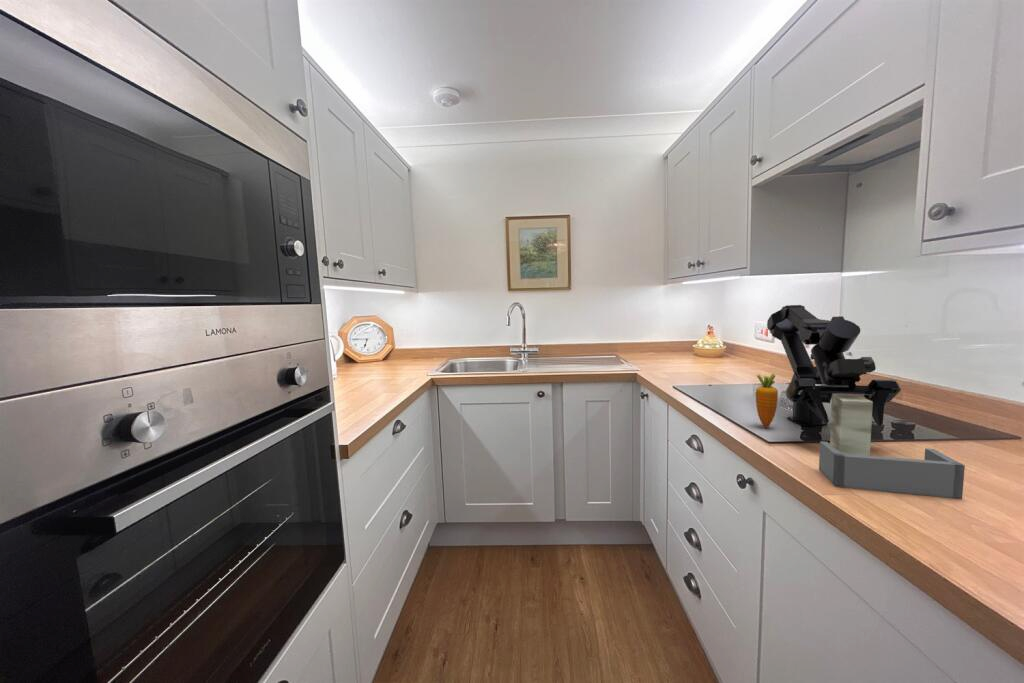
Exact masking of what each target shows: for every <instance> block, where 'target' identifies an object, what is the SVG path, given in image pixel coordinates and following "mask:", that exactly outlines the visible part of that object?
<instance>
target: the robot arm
mask: <svg viewBox="0 0 1024 683" xmlns="http://www.w3.org/2000/svg"><path fill="white" fill-rule="evenodd" d="M766 328H767V330H768V331H769V333H770V334H771V336H772V337H773V338H775V339H777V340H779V341H780V342H781V344H782V346H783V349H784V352H785V354H786V357H787V359H788V362H789V364H790V366H791V369H792V371H793V374H792V378H791V381H790V382H789V384H788V386H787V388H786V389H785V393H786V395H785V396H786V398H787V399H788V400H789V401H791V402H792V403H793V404H792V408H793V410H792V416H787V417H786V418H787V420H790V421H792V422H794V423H796V424H798V425H800V426H802V427H808V426H828V423H829V416H828V413H827V411H826V408H825V405H824V403H827V404H831V402H832V395H860V396H862V395H863V397H864V398H866V399H868V400H870V401H872V402H873V407H872V420H873V421H874V423H875V424H876V425H877V426H878V427H882V425H883V424H884V414H885V412H884V411H885V405H886V403H889V402H892V400H893V399H894V398H895V397H896V396H897V395H898V394H899V393H900V392H901V391H902V389H901V387H900V384H899V383H898V382H897V381H896V380H894V379H872V380H871V381H869V383H868V384H867V385H860V384H859V385H857V383H859V382H860V381H861V379H862V378H861V376H863V375H866V374H867V373H872V372H874V371H875V370H876V368H877V367H876V363H875V361H874V359H873V357H872V356H861V357H859V358H846V356H845V355H844V353H846V352H848V351H849V350H850V348H851V347H852V346H853V344H854V342H855V341H856V339H858V337H859V336H860V334H861V328H860V326H859V325H858V324H856V323H855V322H853V321H851V320H848V319H845V317H844V316H843V315H842V316H832V318H831V319H830V320H829V319H822V318H821V319H820V318H818V317H816V316H815V315H814V314H813V313H811V312H810V311H809V310H807V309H806V308H805V305H801V304H791V305H789V304H788V305H784V306H782V307H781V308H780V310H778V311H775V312H774V313H772V314H770V316H769V317H768V319H767V321H766ZM807 345H809V346H810V345H814V346H812V347H811V349H810V353H811V354H810V355H809V353H808V351H807V349H806V346H807ZM812 360H813V362H814V364H815V366H814V364H813V362H812ZM867 375H868V374H867Z"/></svg>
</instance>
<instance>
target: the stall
mask: <svg viewBox="0 0 1024 683" xmlns="http://www.w3.org/2000/svg"><path fill="white" fill-rule="evenodd" d="M818 458H819V459H818V460H819V462H818V470H819V472H821V473H822V474H823V475H824V476H825V477H826V479H827V480H829V481H830V483H832V484H833V485H834V487H837V488H838V487H839V488H848V489H858V490H859V489H860V490H867V491H880V492H888V493H898V494H908V495H916V496H917V495H918V496H928V497H939V498H948V499H960V500H962V499H963V492H964V480H965V469H966V465H965V464H963V463H961V462H959V461H958V460H955V459H954V458H951V457H950V456H948V455H946V454H945V453H942V452H940V451H939V450H937V449H935V448H925V449H924V459H916V458H903V457H902V458H901V457H892V456H891V457H889V456H875V455H870V456H864V455H851V454H842V453H840V452H839V451H838V450H837V449H835V448H834V447H833V446H832V445H830V442H828V441H819V456H818Z"/></svg>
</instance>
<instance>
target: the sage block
mask: <svg viewBox="0 0 1024 683" xmlns="http://www.w3.org/2000/svg"><path fill="white" fill-rule="evenodd" d="M830 405H831V407H830V408H831V409H830V430H829V431H830V432H829V433H830V434H829V435H830V436H829V444H830V445H832V446H833V447H834V448H835V449H837V450H838V451H839V452H840V453H842V454H851V455H864V456H871V444H872V442H871V441H872V439H871V438H872V437H871V436H872V426H873V425H872V423H873V422H872V420H873V417H872V407H873V402H872V401H870V400H868V399H866V398H865V397H864V396H862V395H857V394H832V398H831V403H830Z"/></svg>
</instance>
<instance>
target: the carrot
mask: <svg viewBox="0 0 1024 683" xmlns="http://www.w3.org/2000/svg"><path fill="white" fill-rule="evenodd" d="M756 377H757V379H758V380H759V382H760V384H761V386H758V387H757V388H756V390H755V404H756V405H755V406H756V410H757V415H758V417H759V420H760V423H761V425H762V426H763V427H764V428H765V429H767V428H769V427H770V426H771V423H773V421H774V418H775V414H776V411H777V408H778V397H779V396H778V394H779V393H778V389H777V388H776V387H774V386H772V385H774V384H775V383H776V381H775V378H776V374H774V373H772V374H771V375H770V376H767V375H764V376H763V377H762V376H761V375H760V374H757V375H756Z"/></svg>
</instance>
